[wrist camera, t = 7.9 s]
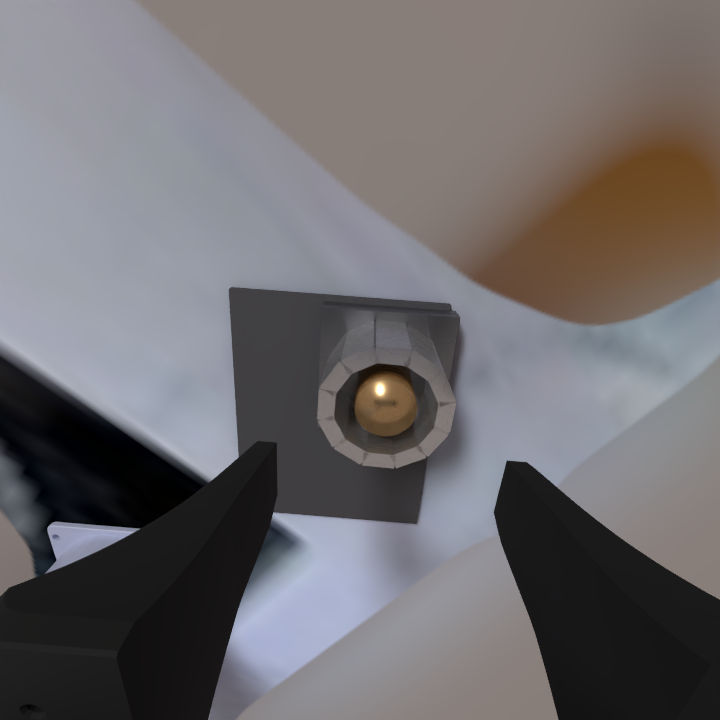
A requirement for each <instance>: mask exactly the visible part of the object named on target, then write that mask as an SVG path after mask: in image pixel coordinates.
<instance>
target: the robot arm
mask: <svg viewBox="0 0 720 720" xmlns="http://www.w3.org/2000/svg"><path fill="white" fill-rule="evenodd" d="M277 495H278V490H277V442H264V441H257V442H256V443H254V444H253V445H252V446H251V447H250V448H249V449H248V450H246V451H245V452H244V453H243V454H242V455H241V456H240V457H239V458H238V459H236V460H235V461H234V462H233V463H232V464H231V465H230V466H229V467H227V468H226V469H225V470H224V471H223V472H221V473H220V474H219V475H218V476H217V477H216V478H214V479H213V480H212V481H211V482H209V483H208V484H207V485H206V486H204V487H203V488H202V489H200V490H199V491H198V492H196V493H195V494H194V495H193V496H191V497H190V498H189V499H187V500H186V501H184V502H183V503H182V504H180V505H179V506H177V507H176V508H174V509H173V510H171V511H169V512H168V513H166V514H165V515H163V516H162V517H160V518H158V519H157V520H155V521H153V522H152V523H150V524H148V525H146V526H145V527H143V528H141V529H137V528H125V527H113V526H101V525H89V524H77V523H65V522H53V523H52V524H51V525H50V526H49V527H48V528H47V529H48V534H49V537H50V540H51V543H52V547H53V550H54V553H55V556H56V560H57V561H56V562H55V563H54V564H53V565H52V567H51V568H50V569H49V570H48V571H47V572H46V573H45V574H43V575H41V576H38V577H36V578H33V579H31V580H28V581H26V582H23V583H20V584H18V585H15V586H12V587H10V588H9V589H8V590H7V591H6V592H4V593H3V594H2V595H1V596H0V720H208V717H209V713H210V709H211V705H212V701H213V697H214V694H215V690H216V686H217V682H218V679H219V675H220V671H221V668H222V664H223V660H224V657H225V653H226V649H227V646H228V642H229V639H230V635H231V632H232V628H233V625H234V621H235V618H236V614H237V611H238V608H239V605H240V602H241V599H242V596H243V593H244V591H245V588H246V586H247V583H248V580H249V578H250V575H251V573H252V570H253V568H254V565H255V562H256V560H257V557H258V555H259V552H260V550H261V547H262V544H263V542H264V539H265V537H266V534H267V531H268V529H269V526H270V523H271V519H272V515H273V511H274V507H275V503H276V499H277ZM494 515H495V519H496V524H497V528H498V532H499V536H500V540H501V543H502V546H503V549H504V552H505V554H506V557H507V560H508V563H509V565H510V568H511V570H512V573H513V576H514V578H515V581H516V583H517V586H518V589H519V591H520V594H521V596H522V599H523V601H524V604H525V606H526V609H527V612H528V614H529V617H530V620H531V623H532V626H533V628H534V631H535V634H536V638H537V641H538V645H539V648H540V652H541V655H542V659H543V662H544V666H545V669H546V673H547V677H548V680H549V684H550V688H551V692H552V696H553V700H554V704H555V707H556V711H557V715H558V719H559V720H720V600H719V599H717V598H716V597H714V596H712V595H710V594H708V593H706V592H705V591H703V590H701V589H699V588H698V587H696V586H694V585H693V584H691V583H689V582H687V581H686V580H684V579H682V578H681V577H679V576H677V575H676V574H674V573H672V572H671V571H669V570H668V569H666V568H664V567H663V566H661V565H660V564H658V563H656V562H655V561H653V560H652V559H650V558H649V557H647V556H646V555H644V554H643V553H641V552H640V551H638V550H637V549H635V548H634V547H632V546H631V545H629V544H628V543H627V542H625V541H624V540H622V539H621V538H619V537H618V536H617V535H615V534H614V533H613V532H612V531H610V530H609V529H608V528H606V527H605V526H603V525H602V524H601V523H600V522H598V521H597V520H596V519H595V518H593V517H592V516H591V515H589V514H588V513H587V512H586V511H584V510H583V509H582V508H581V507H580V506H578V505H577V504H576V503H575V502H574V501H572V500H571V499H570V498H569V497H567V496H566V495H565V494H564V493H563V492H562V491H560V490H559V489H558V488H557V487H556V486H555V485H554V484H552V483H551V482H550V481H549V480H548V479H547V478H545V477H544V476H543V475H542V474H541V473H539V472H538V471H537V470H536V469H535V468H533V467H532V466H531V465H529V464H528V463H527V462H516V461H507V462H506V466H505V470H504V474H503V478H502V482H501V486H500V490H499V494H498V498H497V502H496V506H495V510H494Z"/></svg>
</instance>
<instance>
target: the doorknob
mask: <svg viewBox="0 0 720 720" xmlns="http://www.w3.org/2000/svg"><path fill="white" fill-rule="evenodd" d="M373 320H374V321H375V323H376V320H382V321H392V322H402V323H406V325H407V324H409V325H410V326H412V327H413V328H414V329H416V330H417V331H419V332H420V333H421V334H423V335H424V336H426V337H427V338H428V339H430V340H431V342H432V343H433V345H434V348H435V350H436V352H437V355H438V357H439V360H440V362H441V364H442V367H443V369H444V372H445V374H446V377H447V379H448V382H449V381H450V376H451V370H452V364H453V358H454V352H455V346H456V340H457V335H458V329H459V323H460V317H459V315H458V314H457V312H456V311H447V310H434V309H421V308H408V307H395V306H382V305H369V304H355V303H342V302H329V301H324V303H323V305H322V307H321V330H320V363H319V387H320V384H321V381H322V377H323V374H324V371H325V368H326V364H327V361H328V358H329V355H330V354H331V352H332V351H333V350H334V348H335V347H336V346H337V344H338V343H339V341H340V340H341V339H342V337H343V336H344V335H345V333H346V334H347V332H348V331H350V330H353V329H355V328H357V327H359V326H362V325H364V324H366V323H369V322H371V321H373ZM425 383H426V379H424V378H423V377H421V376H420V375H418V374H417V373H416V372H414V371H413V370H411V369H410V368H408V367H407V366H401V365H391V364H381V363H377V364H374V365H372V366H369V367H367V368H364V369H362V370H360V371H357V372H355V373H352V374H351V375H350V376H349V378H348V379H347V380H346V382H345V383H344V384H343V386H344V388H345V390H346V392H347V393H348V395H349V397H350V399H351V400H352V401H354V402H355V415H356V418H357V420H358V422H359V423H360V425H361V426H362V427H363V428H364V429H366V430H367V431H369V432H370V433H373V434H375V435H379V436H392V435H396V434H399V433H401V432H403V431H405V430H406V429H407V428H409V427H410V426H411V424H412V423H413V421H414V420H415V417H416V414H417V403H416V399H417V398H418V396H419V395H420V394H421V393H422V392H423V391H424V389H425ZM318 427H321V426H320V425H319V423H318Z"/></svg>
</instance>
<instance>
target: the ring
mask: <svg viewBox="0 0 720 720" xmlns="http://www.w3.org/2000/svg"><path fill="white" fill-rule="evenodd" d="M377 363H381V364H391V365H401V366H407V367H408V368H410V369H411V370H413V371H414V372H416V373H417V374H418V375H420V376H421V377H423V378H424V379H426V383H425V389H424V391H423V392H422V393H421V394H420V395H419V396H418V398H417V399H416V403H417V414H416V417H415V420H414V421H413V423H412V424H411V426H410V427H409V428H407V429H406V430H405V431H403V432H401V433H399V434H396V435H392V436H379V435H375V434H373V433H370V432H369V431H367V430H366V429H364V428H363V427H362V426H361V425H360V423H359V422H358V420H357V418H356V415H355V402H354V401H352V400H351V399H350V397H349V395H348V393H347V392H346V390H345V388H344V386H343V384H344V383H345V382H346V380H347V379H348V378H349V376H350V375H351V374H352V373H355V372H357V371H360V370H362V369H364V368H367V367H369V366H372V365H374V364H377ZM455 408H456V399H455V397H454V394H453V392H452V389H451V387H450V384H449V382H448V379H447V377H446V374H445V372H444V369H443V367H442V364H441V362H440V360H439V357H438V355H437V352H436V350H435V348H434V345H433V343H432V342H431V340H430V339H428V338H427V337H426V336H424V335H423V334H421V333H420V332H419V331H417V330H416V329H414V328H413V327H412V326H410V325H409V324H407V325H406V323H402V322H392V321H382V320H376V323H375V321H374V320H373V321H371V322H369V323H366V324H364V325H362V326H359V327H357V328H355V329H353V330H350V331H348V332H347V334H346V333H345V335H344V336H343V337H342V339H341V340H340V341H339V343H338V344H337V346H336V347H335V348H334V350H333V351H332V352H331V354H330V355H329V358H328V361H327V364H326V368H325V371H324V374H323V377H322V381H321V384H320V387H319V395H318V412H317V419H318V423H319V425H320V426H321V428H322V430H323V432H324V434H325V435H326V437H327V439H328V441H329V442H330V444H331V446H332V447H334V449H335V450H337V451H338V452H340V453H342V454H343V455H345V456H347V457H348V458H350V459H352V460H353V461H355V462H356V463H358V464H361V463H362V465H363V466H373V467H383V468H392V469H394V465H395V467H396V468H399V467H402V466H405V465H407V464H410V463H413V462H416V461H419V460H422V459H425V458H426V456H429V455H430V454H431V453H432V452H433V451H434V450H435V449H436V448H437V447H438V446H439V445H440V444H441V443H442V442H443V441H444V440H445V439H446V437H447V436H448V435H449V433H450V431H451V427H452V422H453V417H454V413H455Z"/></svg>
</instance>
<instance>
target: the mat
mask: <svg viewBox="0 0 720 720" xmlns="http://www.w3.org/2000/svg"><path fill="white" fill-rule="evenodd" d="M229 299H230V316H231V332H232V349H233V366H234V383H235V399H236V416H237V433H238V449H239V457H240V456H241V455H242V454H243V453H244V452H245V451H246V450H248V449H249V448H250V447H251V446H252V445H253V444H254V443H256V442H257V441H264V442H277V490H278V495H277V499H276V503H275V507H274V511H273V512H279V513H291V514H303V515H315V516H327V517H340V518H352V519H364V520H376V521H388V522H400V523H413V524H416V523H417V517H418V511H419V505H420V498H421V492H422V486H423V480H424V473H425V467H426V461H427V456H426V458H425V459H422V460H419V461H416V462H413V463H410V464H407V465H405V466H402V467H399V468H396V467H395V465H394V469H392V468H383V467H373V466H363V465H362V463H361V464H358V463H356V462H355V461H353V460H352V459H350V458H348V457H347V456H345V455H343V454H342V453H340V452H338V451H337V450H335V449H334V447H332V446H331V444H330V442H329V441H328V439H327V437H326V435H325V434H324V432H323V430H322V428H321V427H318V419H317V412H318V395H319V363H320V330H321V307H322V305H323V303H324V301H329V302H342V303H355V304H369V305H382V306H395V307H408V308H421V309H434V310H447V311H450V310H451V305H450V304H446V303H432V302H419V301H406V300H393V299H380V298H366V297H353V296H340V295H327V294H314V293H300V292H287V291H274V290H261V289H248V288H234V287H231V288H230V289H229Z"/></svg>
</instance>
